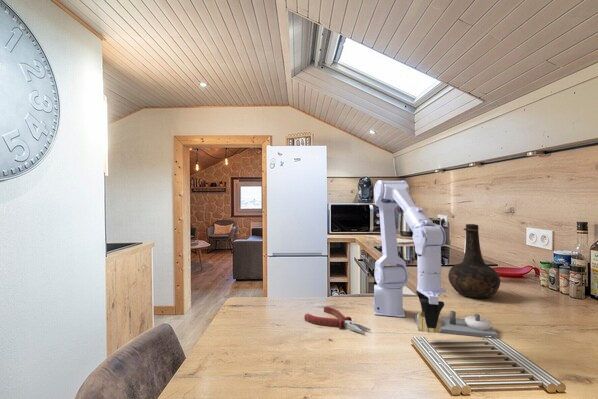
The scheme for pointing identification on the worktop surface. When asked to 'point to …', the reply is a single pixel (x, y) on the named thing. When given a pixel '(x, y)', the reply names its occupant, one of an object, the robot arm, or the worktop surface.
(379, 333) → the worktop surface
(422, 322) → the brass gear
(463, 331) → the gear board
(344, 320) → the pliers
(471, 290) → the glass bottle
